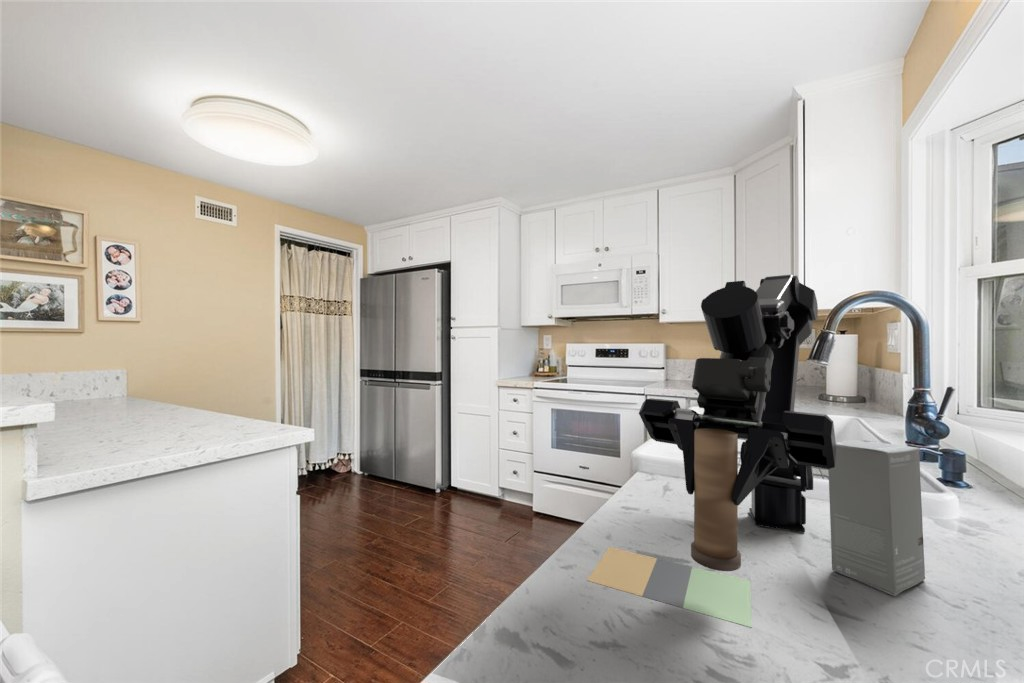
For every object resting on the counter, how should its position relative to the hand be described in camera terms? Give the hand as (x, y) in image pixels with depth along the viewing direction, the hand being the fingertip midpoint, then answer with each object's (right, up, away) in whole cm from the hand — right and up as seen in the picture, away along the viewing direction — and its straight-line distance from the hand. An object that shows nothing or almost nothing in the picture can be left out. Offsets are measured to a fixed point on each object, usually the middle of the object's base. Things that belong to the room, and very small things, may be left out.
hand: (711, 497), depth 42 cm
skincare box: (+24, -13, +9) cm, 29 cm away
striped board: (-2, -12, +5) cm, 13 cm away
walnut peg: (+1, -7, +1) cm, 7 cm away
